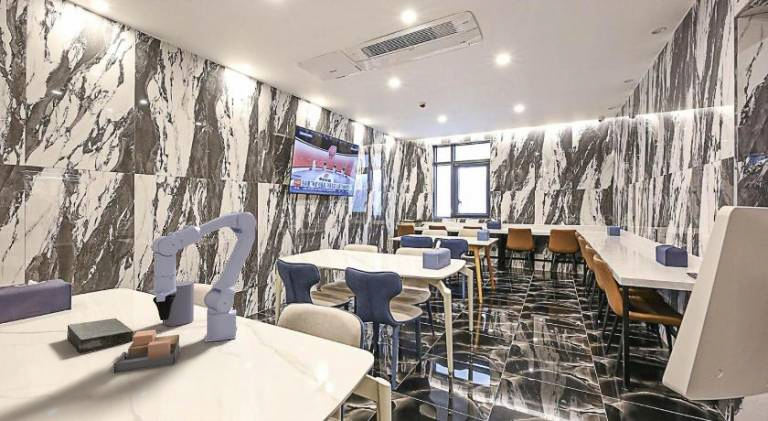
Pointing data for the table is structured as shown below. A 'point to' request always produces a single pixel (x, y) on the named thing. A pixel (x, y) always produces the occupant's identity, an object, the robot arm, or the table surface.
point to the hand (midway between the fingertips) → (164, 319)
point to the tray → (144, 361)
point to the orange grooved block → (144, 347)
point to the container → (182, 305)
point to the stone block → (98, 335)
